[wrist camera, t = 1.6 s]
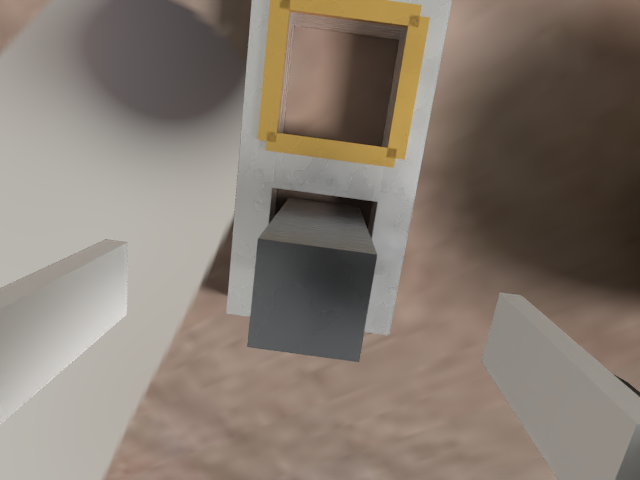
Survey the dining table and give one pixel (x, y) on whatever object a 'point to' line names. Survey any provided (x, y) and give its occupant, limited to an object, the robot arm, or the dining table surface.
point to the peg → (313, 281)
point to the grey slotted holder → (328, 155)
